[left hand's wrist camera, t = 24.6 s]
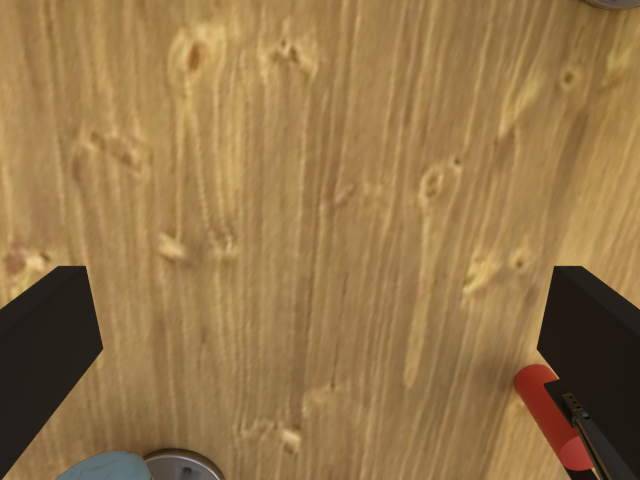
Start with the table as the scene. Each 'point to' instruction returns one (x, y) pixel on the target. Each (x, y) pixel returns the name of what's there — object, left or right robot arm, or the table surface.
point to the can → (551, 417)
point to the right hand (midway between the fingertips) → (564, 423)
